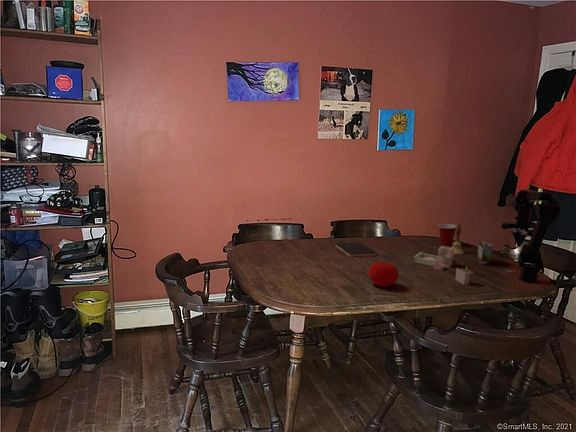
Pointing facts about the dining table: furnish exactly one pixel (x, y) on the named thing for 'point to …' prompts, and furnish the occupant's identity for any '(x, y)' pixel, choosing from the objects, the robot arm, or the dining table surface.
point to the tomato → (383, 273)
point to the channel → (420, 259)
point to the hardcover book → (356, 249)
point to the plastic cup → (447, 233)
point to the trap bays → (439, 266)
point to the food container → (484, 252)
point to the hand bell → (457, 242)
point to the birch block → (444, 256)
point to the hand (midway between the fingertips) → (518, 246)
